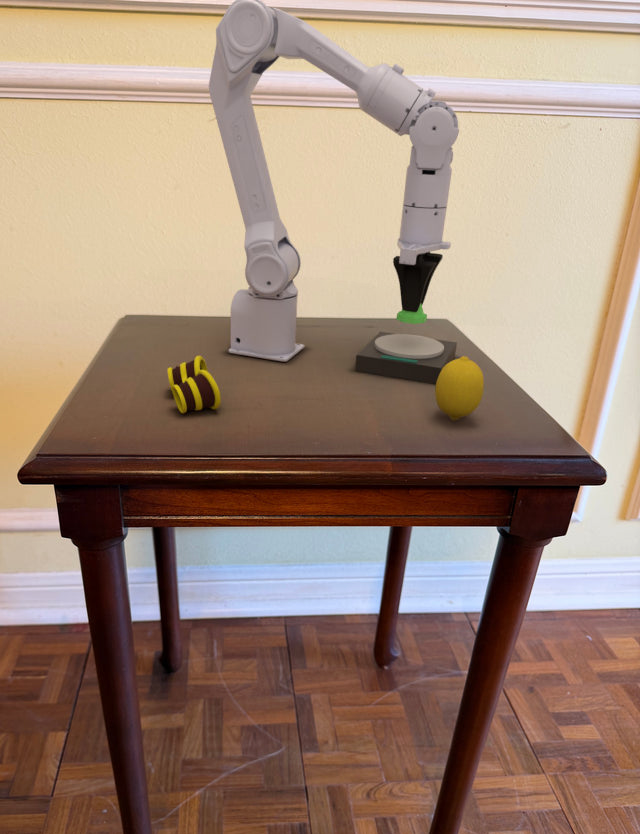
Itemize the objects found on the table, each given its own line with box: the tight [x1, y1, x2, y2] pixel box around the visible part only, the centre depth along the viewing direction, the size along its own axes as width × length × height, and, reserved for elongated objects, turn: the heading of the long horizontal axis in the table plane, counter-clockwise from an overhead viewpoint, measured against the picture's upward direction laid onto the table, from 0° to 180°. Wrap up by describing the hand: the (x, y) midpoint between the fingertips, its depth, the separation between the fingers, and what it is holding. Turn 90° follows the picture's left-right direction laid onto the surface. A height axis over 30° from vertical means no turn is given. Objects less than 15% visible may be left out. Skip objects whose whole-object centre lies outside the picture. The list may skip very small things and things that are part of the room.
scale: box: [354, 331, 458, 385], centre depth 100 cm, size 12×13×3 cm
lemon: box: [434, 355, 485, 421], centre depth 81 cm, size 6×6×8 cm
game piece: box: [396, 304, 428, 325], centre depth 96 cm, size 4×4×6 cm
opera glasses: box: [167, 355, 222, 414], centre depth 84 cm, size 10×5×5 cm, turn 15°
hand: (412, 308), depth 97 cm, fingers closed on game piece, 2 cm apart
